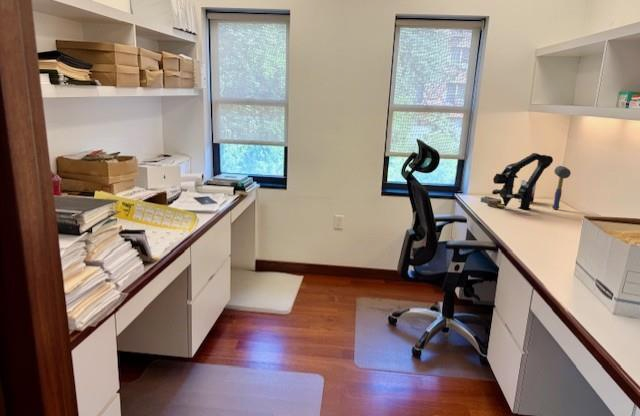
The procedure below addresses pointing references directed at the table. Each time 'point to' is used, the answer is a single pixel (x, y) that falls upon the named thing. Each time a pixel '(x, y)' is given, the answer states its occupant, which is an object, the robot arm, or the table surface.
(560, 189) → the rubber mallet
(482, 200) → the block
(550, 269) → the table surface
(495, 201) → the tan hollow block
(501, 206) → the brass rod
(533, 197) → the candy bar box
